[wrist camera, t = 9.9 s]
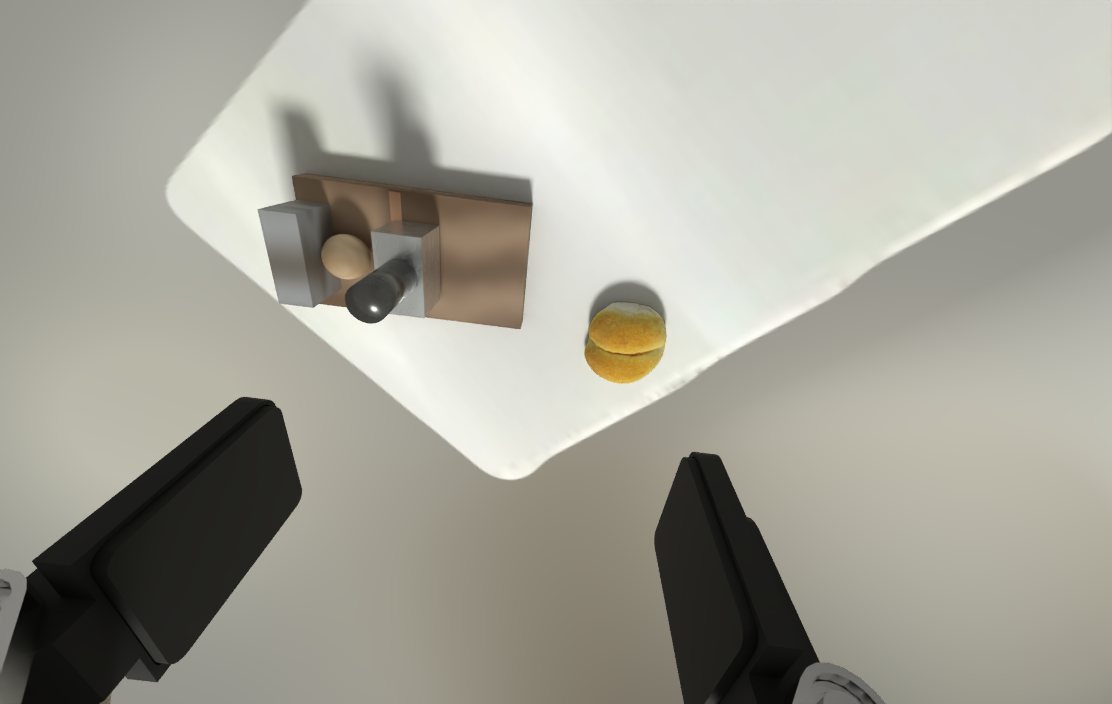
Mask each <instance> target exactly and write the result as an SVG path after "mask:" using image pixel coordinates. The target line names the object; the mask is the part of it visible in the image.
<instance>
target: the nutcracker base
mask: <svg viewBox="0 0 1112 704" xmlns="http://www.w3.org/2000/svg"><path fill="white" fill-rule="evenodd" d="M292 180H293V185H294V191H295V196H296V200H294V201H290V202H286V203H282V204H278V205H273V206H269V207H265V208H261V209H258V213H259V218H260V222H261V226H262V231H263V235H264V239H265V244H266V248H267V253H268V257H269V261H270V266H271V270H272V275H273V279H274V283H275V288H276V292H277V296H278V301H279V303H280V304H288V305H296V306H304V307H312V308H313V307H315V306H316V305H318V304H325V305H333V306H341V307H346V304H345V294H346V291H347V290H348V289H349V288H350V287H351V286H352V285H354V284H355V283H357V282H358V281H360V280H361V279H363V278H364V277H365V276H367V275H368V274H370V273H371V272H373V271H374V270H375V268H374V258H373V248H372V238H371V231H373V230H375V229H377V228H379V227H381V226H383V225H385V224H387V223H389V222H391V221H393V220H400V221H407V222H415V223H423V224H430V225H438V226H439V239H440V287H441V299H440V300H439V301H438V302H437V304H436V305H435V306H434V307H433V308H432V310H431V311H430V312H429V313H428V315H427V316H426V317H428V318H436V319H444V320H451V321H459V322H467V323H475V324H483V325H491V326H499V327H507V328H515V329H520V328H521V325H522V321H523V310H524V298H525V287H526V275H527V264H528V252H529V240H530V229H531V217H532V206H533V204H530V203H522V202H515V201H507V200H500V199H492V198H485V197H477V196H469V195H462V194H454V193H447V192H439V191H432V190H424V189H416V188H409V187H401V186H394V185H386V184H379V183H371V182H364V181H356V180H348V179H341V178H333V177H326V176H318V175H311V174H301V175H294V176H292Z"/></svg>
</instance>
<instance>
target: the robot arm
mask: <svg viewBox="0 0 1112 704" xmlns="http://www.w3.org/2000/svg"><path fill="white" fill-rule="evenodd" d="M301 495H302V488H301V484H300V480H299V476H298V472H297V469H296V465H295V461H294V457H293V453H292V449H291V446H290V442H289V438H288V434H287V430H286V426H285V423H284V419H283V415H282V412H281V410H280V409H279V408H277V407H276V406H275V403H274V402H273V401H270V400H265V399H258V398H250V397H241V398H239V399H237V400H235V401H234V402H233V403H232V404H230V405H229V406H228V407H227V408H225V409H224V410H223V411H222V412H220V413H219V414H218V415H216V416H215V417H214V418H213V419H211V420H210V421H209V422H208V423H206V424H205V425H204V426H203V427H201V428H200V429H199V430H198V431H196V432H195V433H194V434H192V435H191V436H190V437H189V438H187V439H186V440H185V441H183V442H182V443H181V444H180V445H179V446H177V447H176V448H175V449H173V450H172V451H171V452H170V453H168V454H167V455H166V456H164V457H163V458H162V459H161V460H159V461H158V462H157V463H156V464H155V465H153V466H152V467H151V468H149V469H148V470H147V471H145V472H144V473H143V474H142V475H140V476H139V477H138V478H137V479H135V480H134V481H133V482H132V483H130V484H129V485H128V486H127V487H125V488H124V489H123V490H121V491H120V492H119V493H118V494H116V495H115V496H114V497H112V498H111V499H110V500H109V501H107V502H106V503H105V504H104V505H102V506H101V507H100V508H99V509H97V510H96V511H95V512H94V513H92V514H91V515H90V516H88V517H87V518H86V519H85V520H83V521H82V522H81V523H80V524H78V525H77V526H76V527H75V528H74V529H72V530H71V531H69V532H68V533H67V534H66V535H65V536H63V537H62V538H61V539H59V540H58V541H57V542H55V543H54V544H53V545H52V546H51V547H49V548H48V549H47V550H45V551H44V552H43V553H41V554H40V555H39V556H38V557H36V558H35V559H34V560H33V561H32V562H33V563H34V565H35V566H36V567H37V569H36V570H35V571H34V572H32V573H31V574H30V575H29V576H28V577H24V575H23V574H21V572H18V571H14V570H9V569H4V570H0V704H110V702H111V694H112V691H113V690H114V689H115V687H116V686H117V685H118V684H119V682H120V681H121V680H122V679H123V678H124V676H126V678H127V679H133V680H143V681H151V682H158V681H159V679H160V678H161V677H162V676H163V674H164V673H165V672H166V670H167V669H168V668H169V666H170V665H171V664H174V663H176V662H178V661H179V660H180V659H182V658H183V657H184V656H185V655H186V653H187V652H188V651H189V650H190V648H191V647H192V646H193V644H194V643H195V642H196V640H197V639H198V637H199V636H200V635H201V634H202V632H203V631H204V630H205V628H206V627H207V625H208V624H209V623H210V622H211V620H212V619H213V618H214V616H215V615H216V613H217V612H218V611H219V610H220V608H221V607H222V605H223V604H224V603H225V601H226V600H227V599H228V597H229V596H230V594H231V593H232V592H233V591H234V589H235V588H236V587H237V585H238V584H239V583H240V581H241V580H242V579H243V577H244V576H245V575H246V573H247V572H248V571H249V569H250V568H251V567H252V565H253V564H254V563H255V561H256V560H257V559H258V557H259V556H260V555H261V553H262V552H263V551H264V549H265V548H266V547H267V545H268V544H269V543H270V541H271V540H272V539H273V537H274V536H275V535H276V533H277V532H278V531H279V529H280V528H281V526H282V525H283V524H284V522H285V521H286V520H287V518H288V517H289V516H290V514H291V513H292V512H293V510H294V509H295V507H296V506H297V505H298V503H299V501H300V499H301ZM654 540H655V541H654V542H655V543H654V544H655V551H656V556H657V562H658V567H659V572H660V578H661V583H662V588H663V594H664V599H665V604H666V610H667V614H668V620H669V625H670V631H671V636H672V642H673V646H674V652H675V658H676V663H677V668H678V673H679V679H680V684H681V689H682V695H683V700H684V704H885V703H884V701H883V700H882V699H881V698H880V696H879V695H878V694H877V693H876V692H875V691H874V690H873V689H872V688H871V687H870V686H869V685H868V684H866V683H865V682H864V681H863V680H862V679H861V678H860V677H858V676H856V675H855V674H853V673H851V672H850V671H848V670H847V669H845V668H843V667H840V666H837V665H834V664H831V663H820V662H819V660H818V658H817V655H816V653H815V651H814V649H813V646H812V645H811V643H810V640H809V638H808V636H807V633H806V631H805V629H804V627H803V625H802V622H801V620H800V618H799V616H798V614H797V612H796V610H795V607H794V605H793V603H792V601H791V599H790V596H789V594H788V592H787V590H786V588H785V586H784V583H783V581H782V579H781V577H780V574H779V572H778V570H777V568H776V566H775V563H774V562H773V559H772V557H771V555H770V553H769V550H768V548H767V546H766V544H765V542H764V540H763V537H762V535H761V533H760V531H759V529H758V527H757V525H756V524H755V522H754V521H753V520H752V519H751V518H748V517H746V515H745V512H744V510H743V508H742V506H741V503H740V501H739V499H738V497H737V494H736V492H735V490H734V488H733V486H732V483H731V481H730V478H729V477H728V474H727V472H726V469H725V467H724V465H723V463H722V460H721V458H720V457H719V456H718V455H715V454H707V453H699V452H692V453H691V454H690V456H689V457H688V458H687V457H683V458H682V460H681V462H680V465H679V467H678V470H677V473H676V476H675V478H674V481H673V484H672V487H671V490H670V492H669V495H668V498H667V501H666V504H665V506H664V509H663V512H662V515H661V517H660V520H659V523H658V526H657V529H656V531H655V538H654Z"/></svg>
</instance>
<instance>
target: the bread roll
mask: <svg viewBox="0 0 1112 704" xmlns="http://www.w3.org/2000/svg"><path fill="white" fill-rule="evenodd" d="M665 342H666V328H665V324H664V321H663V319H662V317H661V315H659V314H658V313H657V312H656V311H655V310H653V309H652V308H651V307H649V306H645V305H640V304H636V303H628V302H614V303H611V304H610V305H608V306H607V307H606V308H605V309H603V310H601V311H600V312H599V313H598V314H596V315H595V317H594V318H593V320H592V322H591V324H590V326H589V341H588V343H587V345H586V348H585V358H586V361H587V363H588V365H589V366H590V367H591V369H592V370H593V371H594V372H595V373H596V374H597V375H599V376H600V377H602V378H604V379H606V380H608V381H611V382H614V383H621V384H622V383H631V382H635V381H637V380H640V379H641V378H643V377H645V376H646V375H647V374H649V373H650V372H651V371H652V370H653V369H654V368H655V367H656V366H657V364H658V363H659V361H660V359H661V358H662V355H663V352H664V349H665Z"/></svg>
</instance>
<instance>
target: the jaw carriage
mask: <svg viewBox="0 0 1112 704" xmlns="http://www.w3.org/2000/svg"><path fill="white" fill-rule="evenodd" d="M371 238H372V248H373V258H374V268H375V270H374V271H373V272H371V273H370V274H368V275H367V276H365V277H364V278H363V279H361V280H360V281H358V282H357V283H355V284H354V285H352V286H351V287H350V288H349V289H348V290H347V291H346V294H345V304H346V307H347V309H348V310H349V312H350V313H351V314H352V315H353V316H354V317H355V318H357V319H358V320H360V321H362V322H365V323H377V322H380V321H381V320H383V319H384V318H385V317H386V316H387V315H388V314H396V315H404V316H411V317H419V318H425V317H426V316H427V315H428V313H429V312H430V311H431V310H432V308H433V307H434V306H435V305H436V304H437V302H438V301H439V300H440V299H441V287H440V239H439V226H438V225H430V224H423V223H415V222H407V221H400V220H393V221H391V222H389V223H387V224H385V225H383V226H381V227H379V228H377V229H375V230H373V231H371Z"/></svg>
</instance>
